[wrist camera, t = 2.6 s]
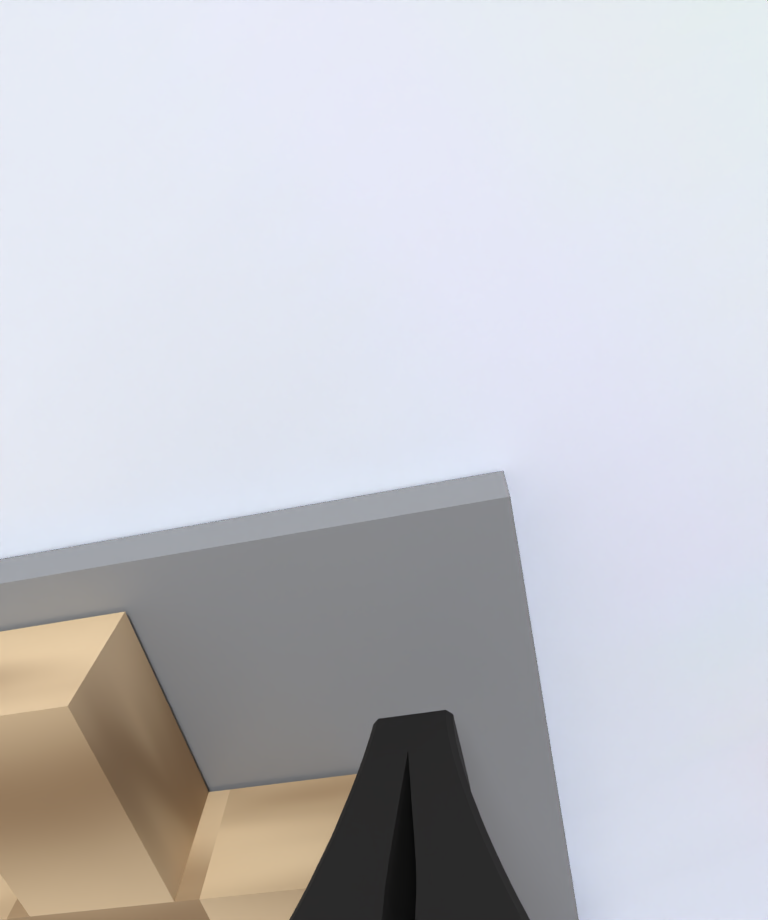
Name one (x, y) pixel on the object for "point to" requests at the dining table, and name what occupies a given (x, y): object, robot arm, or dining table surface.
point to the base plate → (337, 646)
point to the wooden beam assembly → (133, 795)
